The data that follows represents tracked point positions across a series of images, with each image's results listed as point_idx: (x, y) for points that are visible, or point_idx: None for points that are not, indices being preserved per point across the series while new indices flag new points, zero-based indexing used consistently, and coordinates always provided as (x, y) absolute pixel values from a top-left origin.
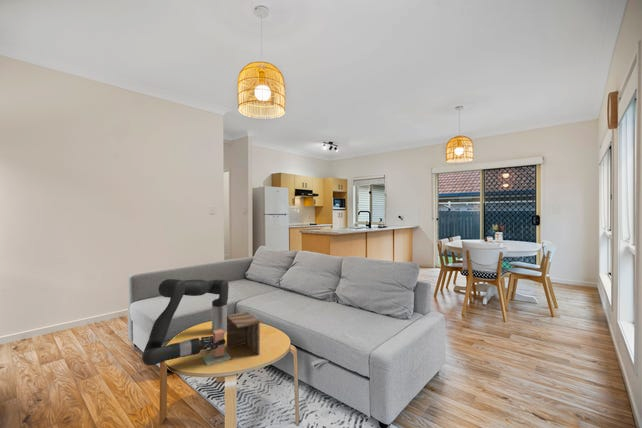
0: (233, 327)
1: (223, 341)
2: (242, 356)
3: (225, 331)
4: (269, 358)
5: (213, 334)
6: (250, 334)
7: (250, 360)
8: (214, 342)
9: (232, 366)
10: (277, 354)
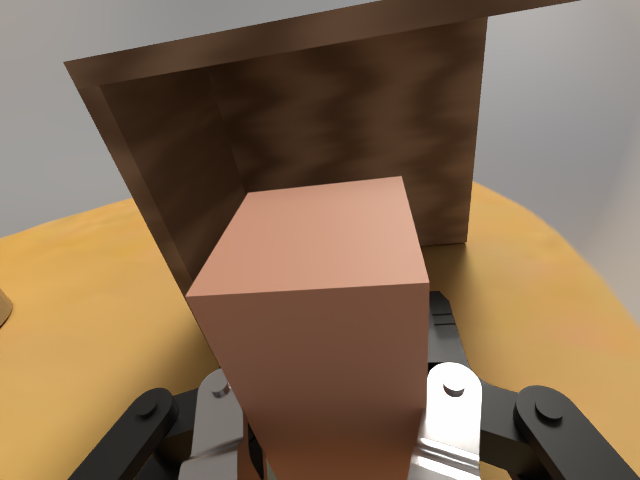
0: (191, 187)
1: (449, 306)
2: None
3: (10, 306)
4: (526, 214)
5: (240, 352)
6: (328, 174)
7: (523, 282)
8: (478, 444)
9: (620, 412)
10: (488, 190)
